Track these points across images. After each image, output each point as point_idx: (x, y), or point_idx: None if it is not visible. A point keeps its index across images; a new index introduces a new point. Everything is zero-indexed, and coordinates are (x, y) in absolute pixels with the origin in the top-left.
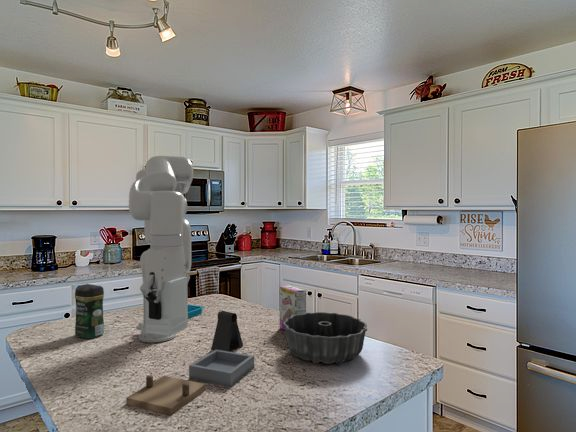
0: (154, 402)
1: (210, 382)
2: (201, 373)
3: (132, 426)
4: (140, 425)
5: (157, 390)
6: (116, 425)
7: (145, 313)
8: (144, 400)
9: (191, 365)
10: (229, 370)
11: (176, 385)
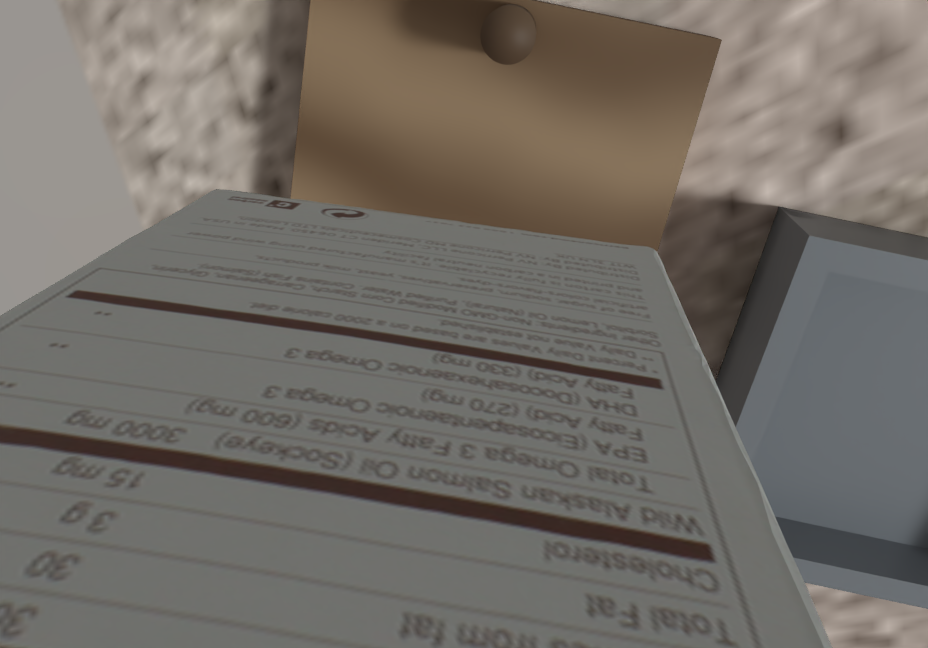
0: (310, 196)
1: (719, 374)
2: (753, 330)
3: (128, 164)
4: (151, 201)
5: (465, 126)
6: (101, 65)
7: (46, 289)
8: (313, 117)
9: (811, 254)
10: (875, 462)
11: (564, 222)
